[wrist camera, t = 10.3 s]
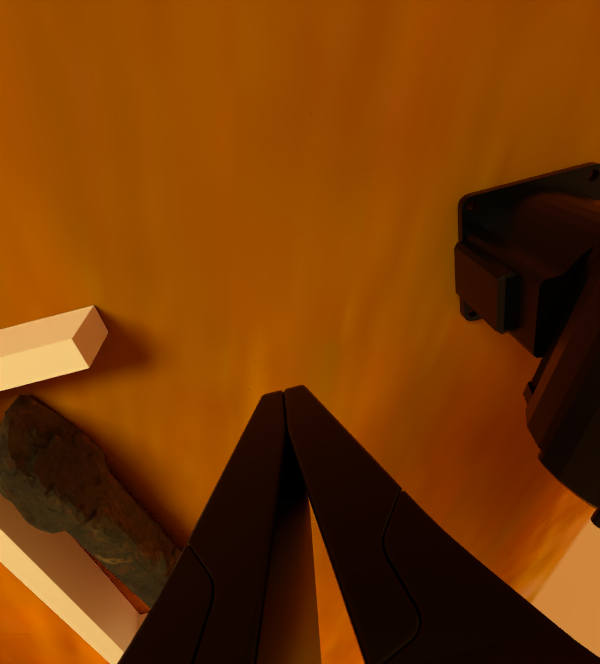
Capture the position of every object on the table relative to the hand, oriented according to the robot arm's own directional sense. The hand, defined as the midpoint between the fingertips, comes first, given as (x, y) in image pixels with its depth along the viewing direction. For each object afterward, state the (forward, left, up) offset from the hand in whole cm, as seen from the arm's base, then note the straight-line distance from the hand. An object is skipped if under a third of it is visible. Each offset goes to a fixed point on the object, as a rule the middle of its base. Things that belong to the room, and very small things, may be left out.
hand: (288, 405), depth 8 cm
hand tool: (+13, +15, -12) cm, 23 cm away
